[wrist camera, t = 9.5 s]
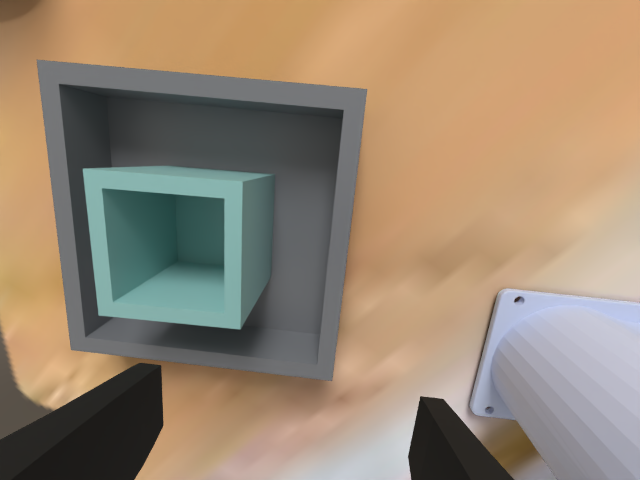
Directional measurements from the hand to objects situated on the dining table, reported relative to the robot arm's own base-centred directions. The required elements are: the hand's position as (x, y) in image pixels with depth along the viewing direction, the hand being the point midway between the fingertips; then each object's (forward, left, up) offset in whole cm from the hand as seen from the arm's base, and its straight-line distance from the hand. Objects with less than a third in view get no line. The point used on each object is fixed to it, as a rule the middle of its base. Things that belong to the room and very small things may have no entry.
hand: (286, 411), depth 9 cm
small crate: (+5, -3, -9) cm, 10 cm away
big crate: (+5, -3, -9) cm, 11 cm away
